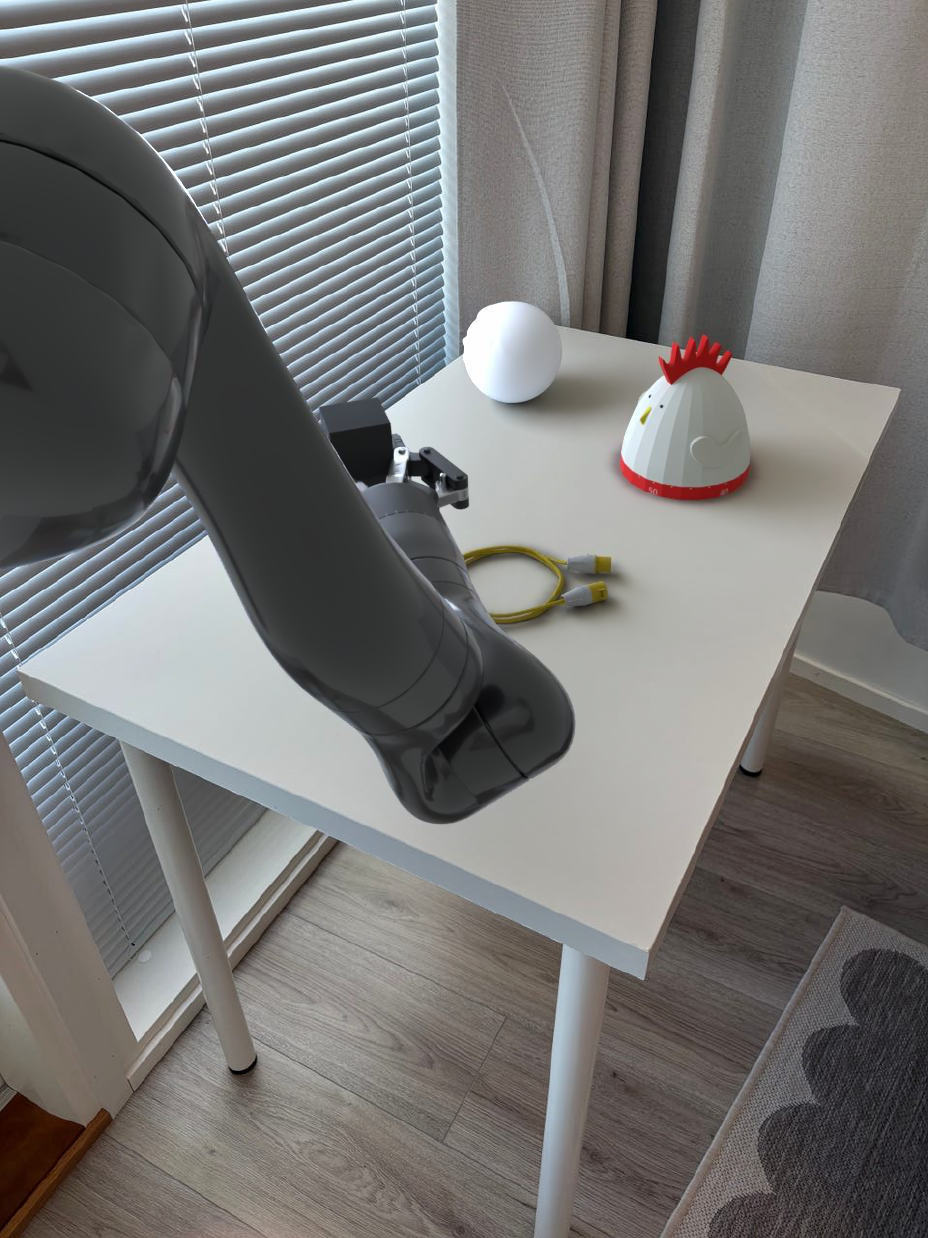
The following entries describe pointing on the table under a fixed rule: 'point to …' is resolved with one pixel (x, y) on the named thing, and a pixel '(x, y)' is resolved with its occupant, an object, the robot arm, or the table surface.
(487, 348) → the decorative ball
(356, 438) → the tall dark pillar
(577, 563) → the yellow coiled cord
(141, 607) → the table surface
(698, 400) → the kitchen timer
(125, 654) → the table surface
